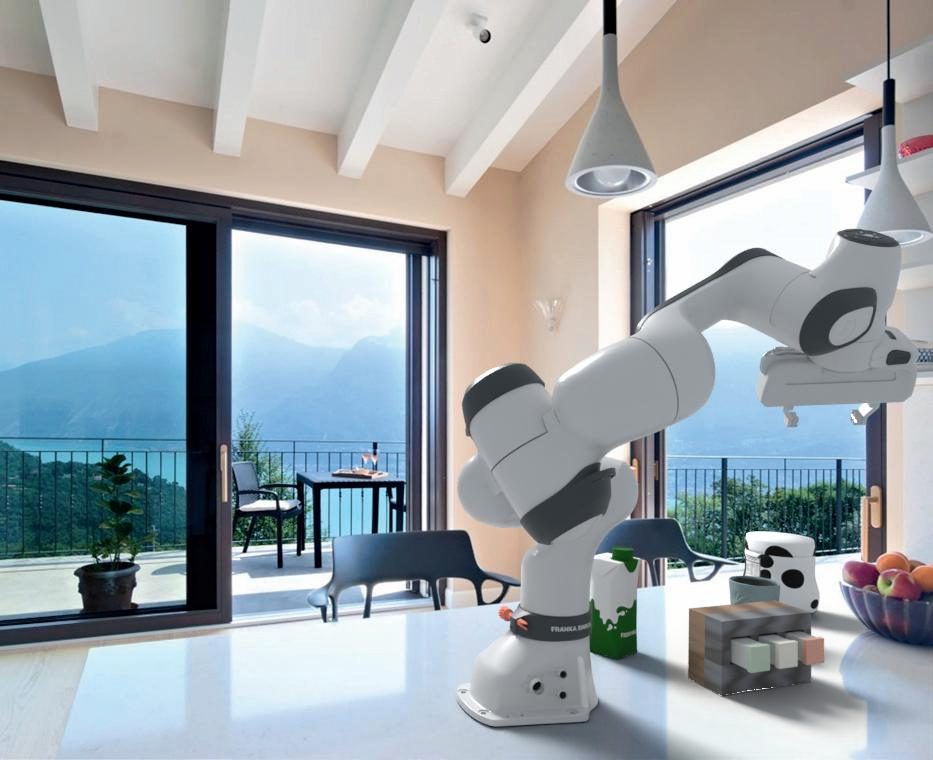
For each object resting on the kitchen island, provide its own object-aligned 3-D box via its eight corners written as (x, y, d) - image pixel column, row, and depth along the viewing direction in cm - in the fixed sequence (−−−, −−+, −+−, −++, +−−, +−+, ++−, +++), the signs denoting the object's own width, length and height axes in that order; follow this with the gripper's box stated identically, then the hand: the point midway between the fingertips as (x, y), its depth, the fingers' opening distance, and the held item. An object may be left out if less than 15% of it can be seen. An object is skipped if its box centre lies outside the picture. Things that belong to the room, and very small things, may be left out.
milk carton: (619, 662, 124) (620, 553, 125) (578, 649, 131) (581, 545, 132) (644, 652, 130) (645, 547, 131) (604, 640, 137) (606, 540, 138)
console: (721, 696, 110) (722, 621, 111) (688, 678, 117) (688, 608, 118) (811, 682, 117) (811, 612, 118) (774, 666, 125) (774, 600, 126)
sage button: (751, 673, 107) (751, 647, 107) (728, 662, 112) (729, 638, 112) (770, 670, 109) (770, 645, 109) (747, 660, 113) (747, 635, 113)
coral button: (806, 665, 112) (806, 640, 112) (783, 655, 116) (783, 631, 116) (824, 662, 113) (824, 638, 113) (800, 653, 117) (800, 629, 118)
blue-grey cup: (758, 649, 134) (758, 588, 135) (717, 634, 143) (718, 577, 144) (791, 642, 139) (791, 583, 140) (749, 628, 148) (749, 573, 149)
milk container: (826, 611, 164) (826, 537, 165) (811, 627, 150) (811, 546, 151) (751, 598, 174) (752, 528, 176) (731, 612, 161) (731, 536, 162)
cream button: (779, 669, 109) (779, 643, 110) (756, 658, 114) (756, 634, 114) (797, 666, 111) (797, 641, 111) (774, 656, 115) (774, 632, 115)
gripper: (769, 360, 90) (755, 439, 98) (933, 353, 88) (906, 435, 96) (756, 336, 96) (744, 413, 103) (911, 328, 93) (887, 408, 101)
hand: (823, 423), depth 99 cm, fingers open, 8 cm apart
